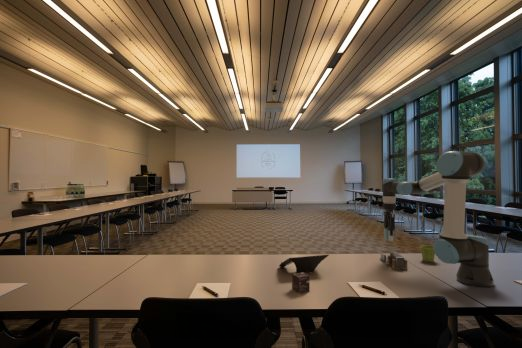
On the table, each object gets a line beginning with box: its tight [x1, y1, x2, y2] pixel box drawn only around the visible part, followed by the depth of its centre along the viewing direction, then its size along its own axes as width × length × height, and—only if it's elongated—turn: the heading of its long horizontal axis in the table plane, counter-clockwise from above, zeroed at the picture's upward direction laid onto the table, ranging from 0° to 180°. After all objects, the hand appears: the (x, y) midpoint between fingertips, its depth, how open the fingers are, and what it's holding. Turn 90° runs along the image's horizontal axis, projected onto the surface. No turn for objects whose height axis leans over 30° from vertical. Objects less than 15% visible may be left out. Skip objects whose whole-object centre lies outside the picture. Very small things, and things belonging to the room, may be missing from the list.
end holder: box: [380, 252, 388, 263], centre depth 189 cm, size 8×8×4 cm
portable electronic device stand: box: [278, 254, 330, 274], centre depth 167 cm, size 23×23×9 cm
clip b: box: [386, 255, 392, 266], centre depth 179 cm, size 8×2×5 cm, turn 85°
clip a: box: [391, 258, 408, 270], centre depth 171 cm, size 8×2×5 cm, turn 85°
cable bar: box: [389, 251, 405, 268], centre depth 176 cm, size 4×12×6 cm, turn 175°
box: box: [291, 272, 310, 294], centre depth 138 cm, size 6×6×7 cm
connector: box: [383, 227, 396, 242], centre depth 189 cm, size 5×5×8 cm
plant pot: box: [419, 244, 436, 263], centre depth 188 cm, size 9×9×9 cm
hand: (389, 239), depth 189 cm, fingers closed on connector, 5 cm apart
